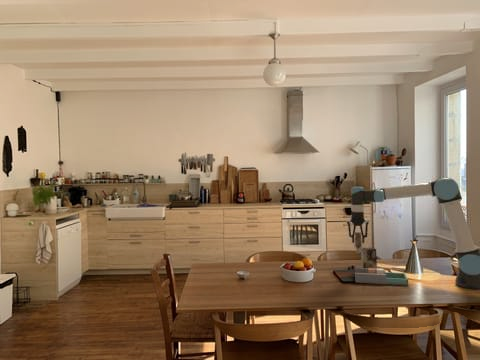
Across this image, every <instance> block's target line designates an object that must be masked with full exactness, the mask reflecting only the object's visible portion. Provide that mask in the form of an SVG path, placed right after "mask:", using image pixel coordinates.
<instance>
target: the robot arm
mask: <svg viewBox="0 0 480 360" xmlns="http://www.w3.org/2000/svg"><path fill="white" fill-rule="evenodd" d="M424 196H426V197H427V196H431V197H436V199H437V202H438V204H439V205H441V206H442V208H443V209H444V213H445V216H446V220H447V223H448V224H449V225H448V226H449V229H450V231H451V234H452V237H453V241H454V243H455V245H456V248H455V250H454V253H455V255H456V259H457V261H458V262H457V264H458V266H457V267H458V272H457V274H456V277H455V285H456V286H458V287H461V288H463V289H469V290H480V246H478V245H475V242H474V239H473V237H472V233H471V230H470V227H469V224H468V221H467V219H466V216H465V213H464V209H463V207H462V204H461V201H462V200H463V197H462V194H461V192H460V187H459V184H458V183H457V181H456V180H454V179H453V178H452V177H451V178H450V177H442V178H439V179H435V180H430V181H428V182H424V183H416V184H406V185H401V186H400V185H399V186H391V187H384V188H383V187H382V188H374V189H364V187H363V186H352V187H351V188H350V207H351V209H350V210H351V213H350V215H351V219H350V220H346V224H347V227H348V236H349V238H351V240H352V241H351V243H352V244H353V245H354V246H353V247H354V249H355V250H356V247H355V232H356V228H357V227H359V228H360V232H361V247H360V248H361V249H363V248H364V246H363V244H365V238H368V232H369V231H368V229H369V227H368V226H369V224H370V222H369V221H367V220H365V212H364V210H365V206H364V205H365V203H383V202H384V201H387V200H394V199H395V200H396V199H397V200H398V199H406V198H413V197H414V198H416V197H424ZM351 224H352V225H353V228H352V229H351ZM363 224H364V225H365V229H364V230H363ZM351 230H352V231H351Z"/></svg>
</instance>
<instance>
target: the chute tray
mask: <svg viewBox="0 0 480 360" xmlns="http://www.w3.org/2000/svg"><path fill="white" fill-rule="evenodd" d="M385 274H386V281H387V284H386V285H395V286H396V285H397V286H409V278H408V275H406V273H405V272H391V271H390V272H389V271H388V272H387V271H385Z"/></svg>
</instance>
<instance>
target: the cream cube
mask: <svg viewBox="0 0 480 360" xmlns="http://www.w3.org/2000/svg"><path fill="white" fill-rule="evenodd" d="M384 269H385V268H380V267H379V268H378V267H377V274H384Z"/></svg>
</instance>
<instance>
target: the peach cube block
mask: <svg viewBox="0 0 480 360" xmlns="http://www.w3.org/2000/svg"><path fill="white" fill-rule="evenodd" d="M368 274H375V268H368Z"/></svg>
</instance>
